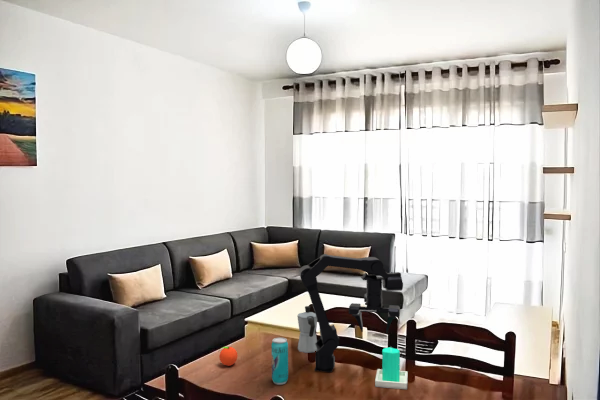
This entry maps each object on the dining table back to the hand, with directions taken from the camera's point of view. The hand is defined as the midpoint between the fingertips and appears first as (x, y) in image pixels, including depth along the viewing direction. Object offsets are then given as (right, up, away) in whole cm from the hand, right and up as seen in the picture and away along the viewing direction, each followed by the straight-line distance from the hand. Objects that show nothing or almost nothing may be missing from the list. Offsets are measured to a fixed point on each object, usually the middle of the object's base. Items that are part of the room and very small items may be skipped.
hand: (374, 332), depth 183 cm
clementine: (-56, -14, +4) cm, 57 cm away
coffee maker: (-24, -13, +19) cm, 33 cm away
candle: (+4, -13, -13) cm, 19 cm away
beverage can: (-35, -14, -13) cm, 40 cm away
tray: (+4, -14, -13) cm, 19 cm away
